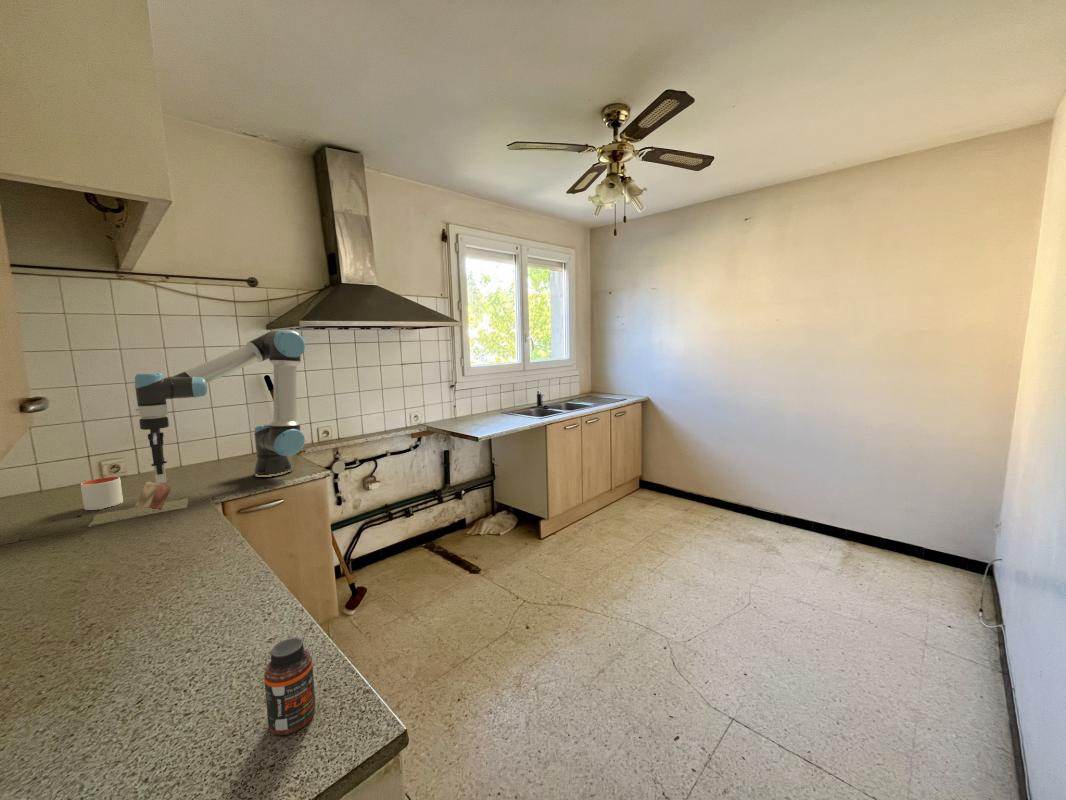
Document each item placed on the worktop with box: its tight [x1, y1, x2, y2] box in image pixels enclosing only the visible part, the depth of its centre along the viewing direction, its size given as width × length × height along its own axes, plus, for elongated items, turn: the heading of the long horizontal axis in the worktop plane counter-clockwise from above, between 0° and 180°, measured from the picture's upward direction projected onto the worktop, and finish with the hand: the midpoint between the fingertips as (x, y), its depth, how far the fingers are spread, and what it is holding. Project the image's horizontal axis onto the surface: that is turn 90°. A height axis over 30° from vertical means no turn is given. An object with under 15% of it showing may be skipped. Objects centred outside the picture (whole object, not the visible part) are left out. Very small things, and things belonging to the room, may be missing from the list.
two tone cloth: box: [135, 481, 172, 510], centre depth 148 cm, size 7×7×7 cm
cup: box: [80, 476, 124, 511], centre depth 152 cm, size 10×10×10 cm
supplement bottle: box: [263, 637, 316, 736], centre depth 60 cm, size 6×6×11 cm
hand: (161, 482), depth 149 cm, fingers closed
